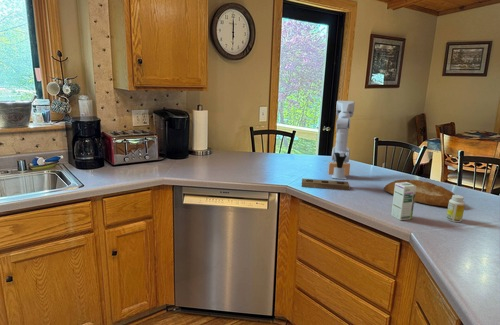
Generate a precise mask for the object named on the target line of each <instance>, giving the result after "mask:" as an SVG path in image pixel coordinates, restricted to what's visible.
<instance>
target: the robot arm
mask: <svg viewBox="0 0 500 325" xmlns="http://www.w3.org/2000/svg"><path fill="white" fill-rule="evenodd" d="M355 103H356V102H355V101H354V100H353V101H352V100H337V101H336V107H335V108H336V109H335V110H336V112H335V114H336V116H337V117H338V118H336V126H335V128H336V137H335V146H333V147H332V149H331V150H332V151H331V158H330V159H331V161H332V162H333V163H337V167H334V174H333V175H331V179H335V180H336V179H338V180H347V175H344V168H342V166H343V163H350V153H351V152H350V147H348V139H349V138H348V137H349V130H350V127H351V118H352V117H353V116H354V112H355V106H356V105H355Z"/></svg>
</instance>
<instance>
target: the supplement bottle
mask: <svg viewBox="0 0 500 325" xmlns="http://www.w3.org/2000/svg"><path fill="white" fill-rule="evenodd" d="M464 199H465V198H464V196H462V195H458V194H455V195H452V199H450V200H449V204H448V207H447V212H446V216H445V217H446V220H447V221H450V222H454V223H461V222H462V221H463V217H464V210H465V206H466V205H465V204H466V202H465V200H464Z"/></svg>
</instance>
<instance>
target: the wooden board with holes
mask: <svg viewBox="0 0 500 325" xmlns="http://www.w3.org/2000/svg"><path fill="white" fill-rule="evenodd" d="M301 187H302V188H313V189H325V190H326V189H327V190H340V191H350V184H349V181H344V180H329V179H327V180H326V179H315V178H302V179H301Z"/></svg>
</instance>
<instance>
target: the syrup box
mask: <svg viewBox="0 0 500 325" xmlns="http://www.w3.org/2000/svg"><path fill="white" fill-rule="evenodd" d="M415 193H416V186H415V185H414V184H411V183H408V182H404V183H395V188H394V195H393V198H392V204H391V205H392V206H391V215H390V216H392V217H394V218H395V219H397V220H398V221H407V220H412V219H413V213H414V206H415V202H414V200H415Z"/></svg>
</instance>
